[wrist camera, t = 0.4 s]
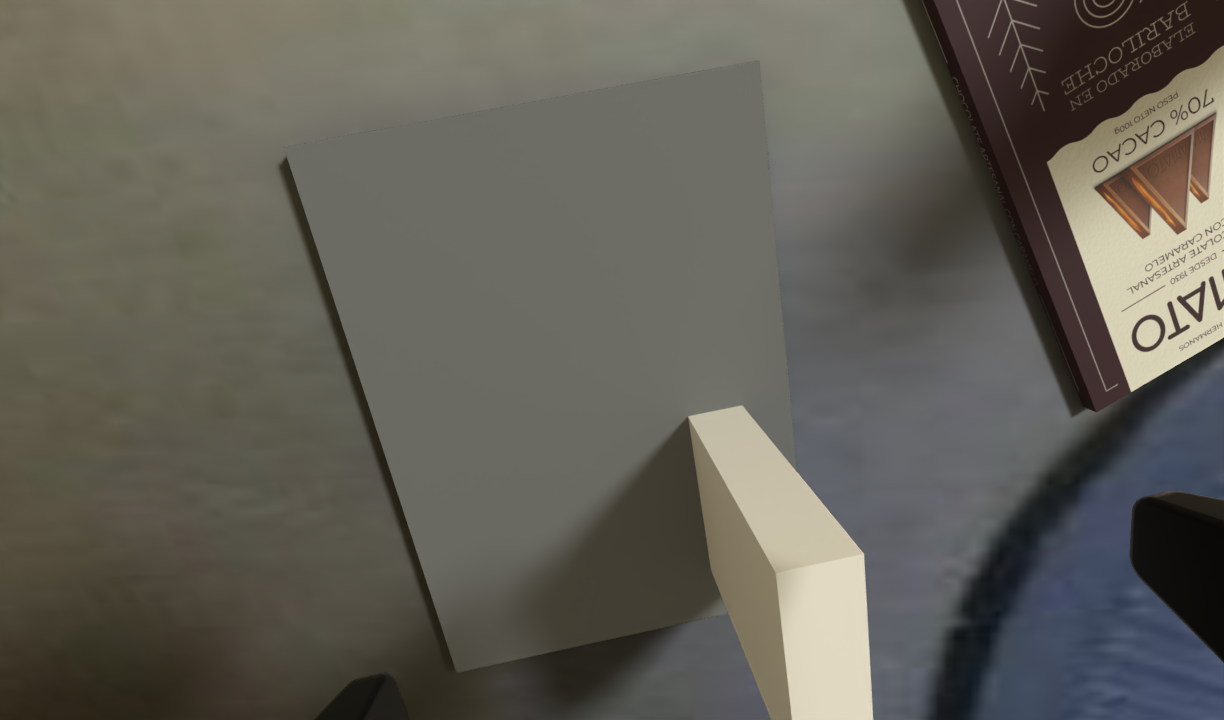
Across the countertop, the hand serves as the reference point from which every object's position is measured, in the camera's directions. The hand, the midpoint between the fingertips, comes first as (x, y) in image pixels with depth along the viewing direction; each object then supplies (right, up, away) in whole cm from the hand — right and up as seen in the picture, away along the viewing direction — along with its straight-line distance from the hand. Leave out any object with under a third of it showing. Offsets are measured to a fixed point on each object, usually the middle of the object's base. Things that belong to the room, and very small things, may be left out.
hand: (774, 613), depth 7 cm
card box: (+2, -1, +13) cm, 14 cm away
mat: (-3, +2, +12) cm, 13 cm away
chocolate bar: (+14, +11, +12) cm, 21 cm away
